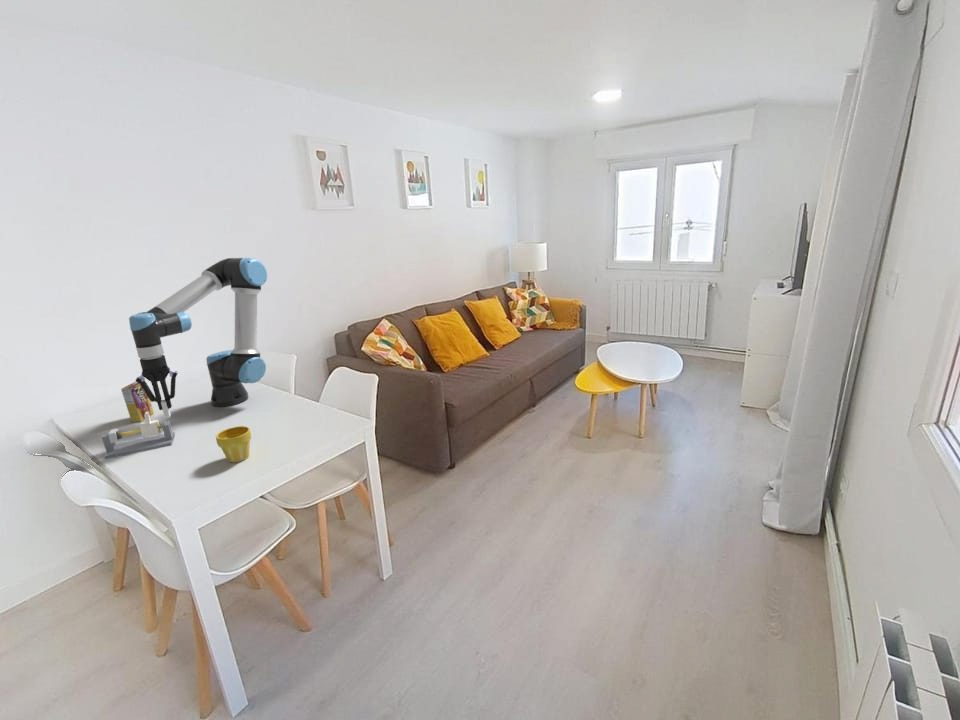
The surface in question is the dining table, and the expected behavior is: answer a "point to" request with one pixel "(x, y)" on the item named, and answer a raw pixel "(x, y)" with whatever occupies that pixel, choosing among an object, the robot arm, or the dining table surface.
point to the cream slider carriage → (149, 427)
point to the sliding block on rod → (136, 441)
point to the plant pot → (235, 443)
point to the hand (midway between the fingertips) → (167, 416)
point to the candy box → (137, 402)
